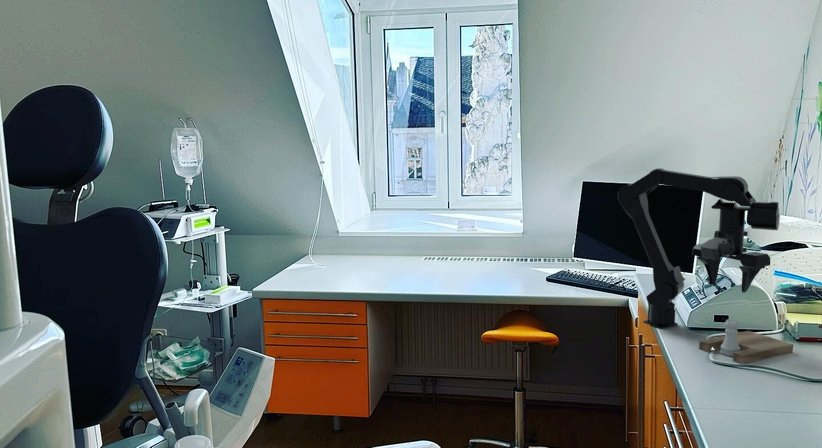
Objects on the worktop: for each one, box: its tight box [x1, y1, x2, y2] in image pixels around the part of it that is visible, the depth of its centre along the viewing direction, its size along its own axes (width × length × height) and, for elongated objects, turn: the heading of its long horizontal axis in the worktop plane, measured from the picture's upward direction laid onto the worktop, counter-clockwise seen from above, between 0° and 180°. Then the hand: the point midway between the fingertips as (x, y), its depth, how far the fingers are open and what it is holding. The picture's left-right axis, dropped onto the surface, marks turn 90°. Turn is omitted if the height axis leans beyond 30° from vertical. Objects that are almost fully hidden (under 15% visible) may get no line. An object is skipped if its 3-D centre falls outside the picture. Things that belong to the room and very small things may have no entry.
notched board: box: [698, 330, 794, 365], centre depth 162 cm, size 12×17×2 cm
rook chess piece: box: [719, 318, 741, 357], centre depth 160 cm, size 4×4×8 cm
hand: (728, 288), depth 173 cm, fingers open, 9 cm apart
